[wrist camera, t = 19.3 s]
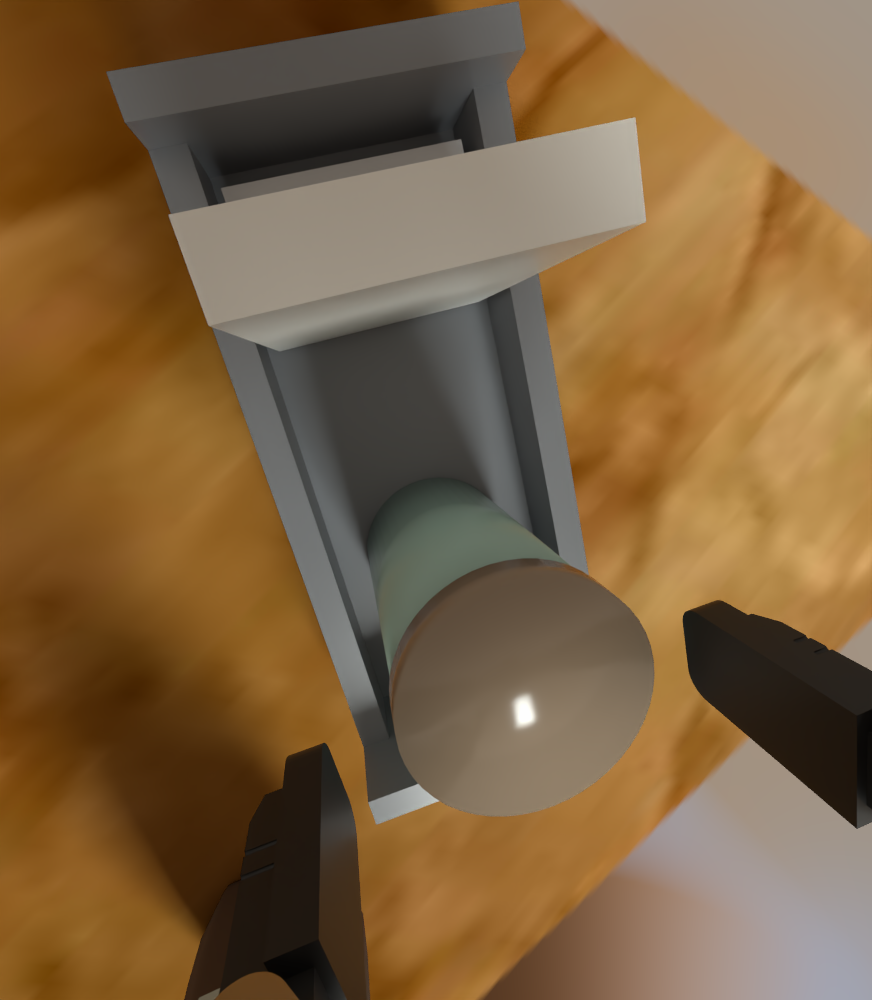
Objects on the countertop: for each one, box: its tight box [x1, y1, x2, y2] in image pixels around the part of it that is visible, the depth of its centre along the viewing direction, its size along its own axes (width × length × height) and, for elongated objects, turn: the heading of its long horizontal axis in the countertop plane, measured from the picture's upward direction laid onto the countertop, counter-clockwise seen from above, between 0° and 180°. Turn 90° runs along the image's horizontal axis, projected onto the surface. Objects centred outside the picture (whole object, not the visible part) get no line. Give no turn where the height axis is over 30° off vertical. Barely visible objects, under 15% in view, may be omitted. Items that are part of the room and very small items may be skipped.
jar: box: [367, 477, 654, 816], centre depth 15 cm, size 6×6×10 cm
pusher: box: [168, 118, 646, 351], centre depth 12 cm, size 4×7×10 cm, turn 104°
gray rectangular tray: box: [106, 2, 589, 824], centre depth 17 cm, size 22×10×6 cm, turn 14°
